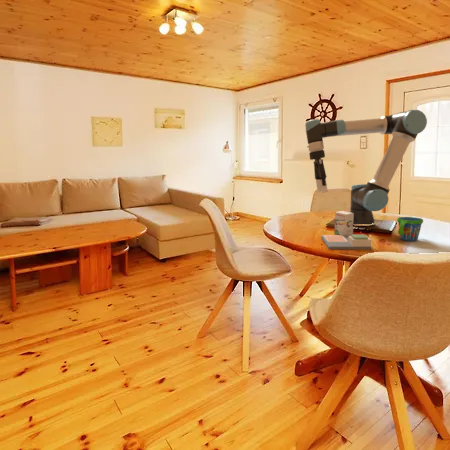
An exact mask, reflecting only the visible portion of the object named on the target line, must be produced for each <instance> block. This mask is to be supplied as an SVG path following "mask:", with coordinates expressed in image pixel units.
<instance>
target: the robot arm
mask: <svg viewBox="0 0 450 450" xmlns="http://www.w3.org/2000/svg"><path fill="white" fill-rule="evenodd" d="M427 123H428V118H427V116H426V114H425V113H424V112H423V111H421V110H419V109H409V110H407V111H401V112H398V113H393V114H389V115H382V116H381V117H380V118H369V119H359V120H358V119H356V120H346V121H345V120H343V119H336V120H329V121H325V122H321V120H320V119H319V118H318V119H315V118H314V119H310V120H307V121H306V122H305V125H304V126H305V134H306V140H307V146H306V147H307V148H308V152H309V159H310V161H311V160H312V161H313V160H314V161H313V168H314V180H315V184H316V189H317V193H320V192H321V193H323V194H324V193H328V186H327V185H328V184H327V173H326V169H325V165H324V160H323V159H325V158H326V155H325V150H324V149H325V146H324V140H323V139H325V138H331V137H332V138H333V137H342V136H343V137H344V136H355V135H356V136H357V135H367V134H368V135H369V134H379V133H380V134H381V135H392V138H391V140H390V142H389V144H388V145H387V149H386V151H385V153H384V155H383V157H382V158H381V161H380V163H379V165H378V167H377V169H376V171H375V174H374V175H373V178H372V179H371V180H369V181H367V183H366V184H365V183H362V184H361V183H360V184H353V185H351V189H350V208H349V212H351V213H354V218H353V224H372V223H376V221H375V217H374V214H373V212H379V211H381V210H383V209H385V207H386V206H387V205H388V202H389V195H388V194H389V192H390V187H389V186H390V184H391V181H392V180H393V178H394V176H395V174H396V172H397V169H398V167H399V165H400V163H401V162H402V159H403V157H404V155H405V154H406V152H407V149H408V148H409V145H410V144H411V143H412V142H415V140H416V138H417V136H418V135H419V134H421V133H422V132H423V131H425V128H426V127H427Z"/></svg>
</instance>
